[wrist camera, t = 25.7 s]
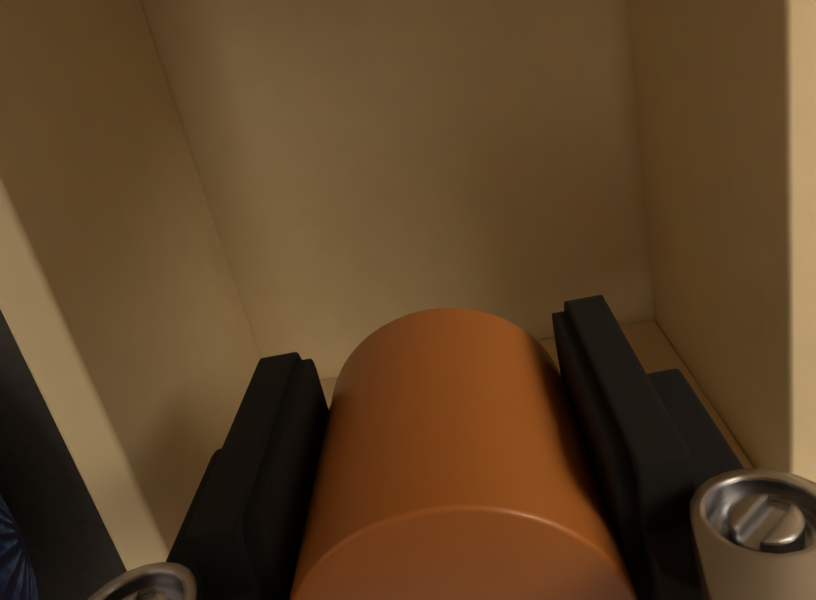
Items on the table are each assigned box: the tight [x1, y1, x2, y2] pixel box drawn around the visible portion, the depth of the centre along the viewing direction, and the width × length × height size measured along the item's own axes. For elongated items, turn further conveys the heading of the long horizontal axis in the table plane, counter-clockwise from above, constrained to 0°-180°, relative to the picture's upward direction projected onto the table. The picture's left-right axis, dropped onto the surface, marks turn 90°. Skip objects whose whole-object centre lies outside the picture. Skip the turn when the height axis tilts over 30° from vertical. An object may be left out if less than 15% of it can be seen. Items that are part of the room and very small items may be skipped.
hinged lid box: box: [0, 0, 816, 571], centre depth 13 cm, size 13×11×8 cm
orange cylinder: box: [289, 308, 639, 600], centre depth 9 cm, size 4×4×4 cm
